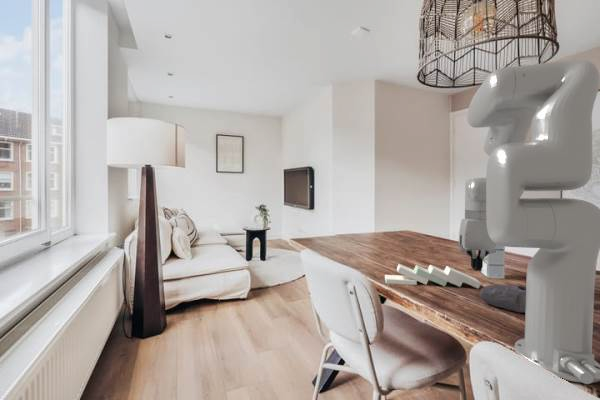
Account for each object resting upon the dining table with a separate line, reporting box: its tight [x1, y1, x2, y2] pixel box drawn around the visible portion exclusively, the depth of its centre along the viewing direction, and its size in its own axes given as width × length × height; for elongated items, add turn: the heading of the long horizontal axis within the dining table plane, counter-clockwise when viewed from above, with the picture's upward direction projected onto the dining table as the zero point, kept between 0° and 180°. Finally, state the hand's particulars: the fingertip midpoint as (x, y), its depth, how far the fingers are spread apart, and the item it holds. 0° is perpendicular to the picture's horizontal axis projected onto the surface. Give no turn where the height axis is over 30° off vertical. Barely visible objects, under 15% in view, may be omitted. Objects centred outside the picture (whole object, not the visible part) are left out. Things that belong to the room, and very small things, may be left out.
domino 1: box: [384, 274, 418, 286], centre depth 100 cm, size 5×2×10 cm
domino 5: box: [443, 265, 482, 289], centre depth 96 cm, size 5×2×10 cm
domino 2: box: [396, 263, 429, 285], centre depth 100 cm, size 5×2×10 cm
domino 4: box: [427, 264, 464, 288], centre depth 97 cm, size 5×2×10 cm
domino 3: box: [413, 264, 448, 287], centre depth 98 cm, size 5×2×10 cm
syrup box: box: [480, 244, 506, 280], centre depth 104 cm, size 6×6×14 cm
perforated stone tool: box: [479, 284, 526, 313], centre depth 77 cm, size 15×5×7 cm, turn 51°
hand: (476, 269), depth 95 cm, fingers closed
